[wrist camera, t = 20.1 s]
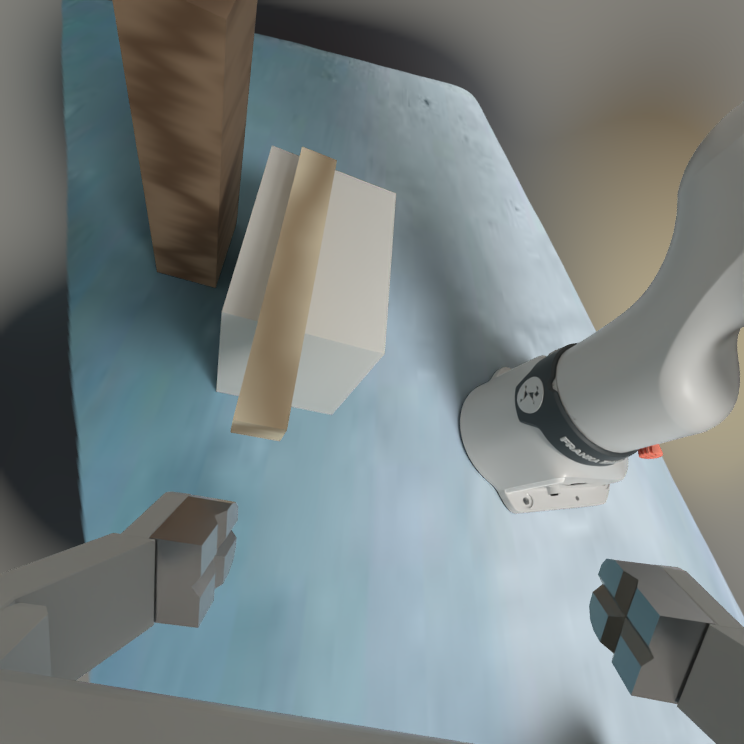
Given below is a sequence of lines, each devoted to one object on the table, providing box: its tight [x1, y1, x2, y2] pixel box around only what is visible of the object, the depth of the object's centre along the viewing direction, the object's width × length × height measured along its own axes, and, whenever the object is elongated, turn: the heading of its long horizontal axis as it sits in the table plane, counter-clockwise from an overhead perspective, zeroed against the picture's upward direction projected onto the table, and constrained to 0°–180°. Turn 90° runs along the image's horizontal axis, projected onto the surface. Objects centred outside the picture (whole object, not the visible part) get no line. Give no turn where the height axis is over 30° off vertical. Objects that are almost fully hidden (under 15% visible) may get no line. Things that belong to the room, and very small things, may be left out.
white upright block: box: [216, 146, 396, 415], centre depth 39 cm, size 12×18×15 cm, turn 176°
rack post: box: [113, 0, 257, 288], centre depth 35 cm, size 6×10×26 cm, turn 176°
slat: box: [231, 147, 337, 441], centre depth 29 cm, size 3×24×2 cm, turn 175°
